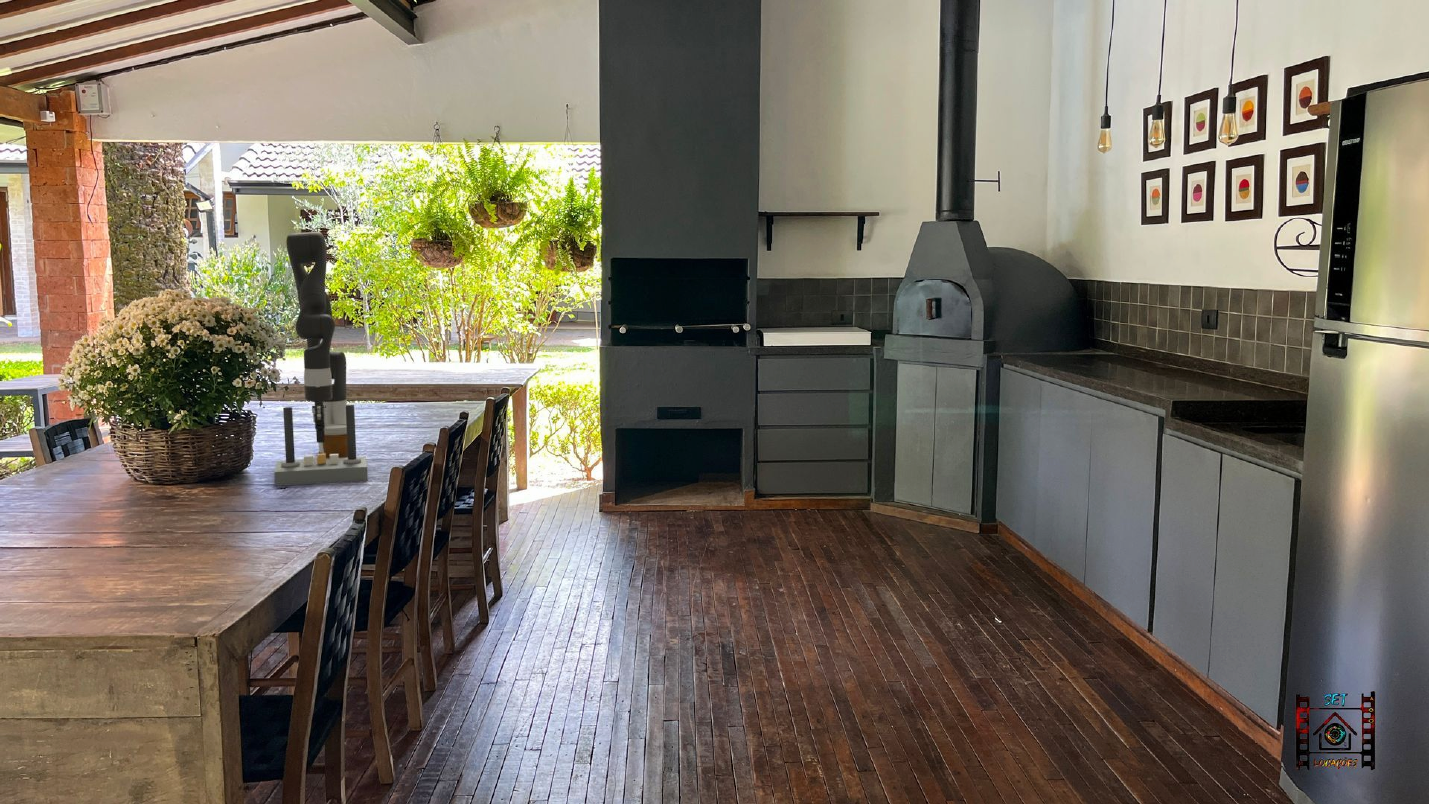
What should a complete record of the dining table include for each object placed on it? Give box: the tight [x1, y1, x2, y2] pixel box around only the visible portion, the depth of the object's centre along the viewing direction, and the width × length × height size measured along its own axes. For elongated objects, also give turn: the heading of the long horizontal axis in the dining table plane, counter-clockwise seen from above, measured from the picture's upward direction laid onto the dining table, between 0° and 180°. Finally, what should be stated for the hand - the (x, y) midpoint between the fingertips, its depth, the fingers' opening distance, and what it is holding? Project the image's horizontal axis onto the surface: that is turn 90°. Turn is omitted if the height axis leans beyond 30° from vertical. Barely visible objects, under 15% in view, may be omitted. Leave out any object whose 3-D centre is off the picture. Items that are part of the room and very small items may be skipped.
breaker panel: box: [273, 454, 368, 487], centre depth 316 cm, size 16×25×7 cm, turn 109°
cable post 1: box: [281, 406, 300, 467], centre depth 312 cm, size 5×5×17 cm
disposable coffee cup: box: [323, 424, 348, 459], centre depth 334 cm, size 10×10×12 cm
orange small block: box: [316, 453, 326, 464], centre depth 315 cm, size 2×2×3 cm
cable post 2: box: [343, 404, 361, 464], centre depth 317 cm, size 5×5×17 cm
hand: (320, 442), depth 315 cm, fingers closed
